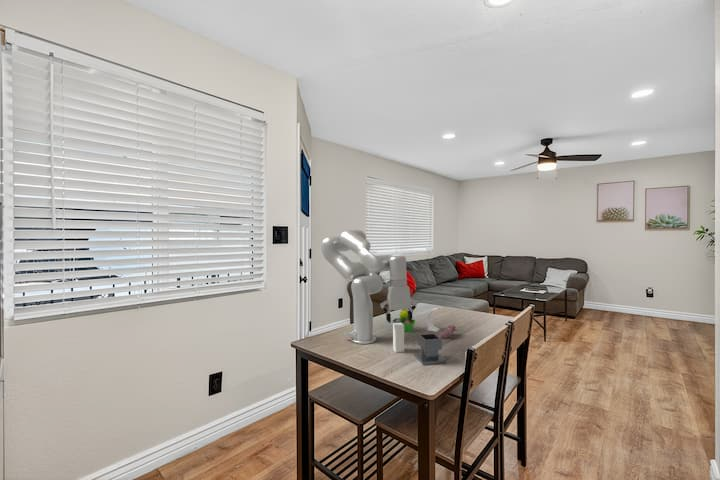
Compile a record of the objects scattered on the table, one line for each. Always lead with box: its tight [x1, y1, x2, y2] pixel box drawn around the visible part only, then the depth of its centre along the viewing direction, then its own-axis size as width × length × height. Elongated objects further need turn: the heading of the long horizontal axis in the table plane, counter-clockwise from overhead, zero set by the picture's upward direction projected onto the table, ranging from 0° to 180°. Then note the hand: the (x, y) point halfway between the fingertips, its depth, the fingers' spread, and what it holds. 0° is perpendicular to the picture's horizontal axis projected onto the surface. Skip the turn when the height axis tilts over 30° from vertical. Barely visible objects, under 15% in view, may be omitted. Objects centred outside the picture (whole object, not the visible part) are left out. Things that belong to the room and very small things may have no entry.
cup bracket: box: [414, 332, 447, 366], centre depth 131 cm, size 10×10×10 cm
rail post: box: [392, 322, 405, 353], centre depth 141 cm, size 4×4×12 cm
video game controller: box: [439, 324, 457, 339], centre depth 159 cm, size 10×5×7 cm, turn 148°
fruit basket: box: [391, 309, 416, 333], centre depth 172 cm, size 11×9×11 cm
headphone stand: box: [425, 307, 440, 333], centre depth 170 cm, size 5×6×12 cm
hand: (399, 321), depth 140 cm, fingers open, 9 cm apart
